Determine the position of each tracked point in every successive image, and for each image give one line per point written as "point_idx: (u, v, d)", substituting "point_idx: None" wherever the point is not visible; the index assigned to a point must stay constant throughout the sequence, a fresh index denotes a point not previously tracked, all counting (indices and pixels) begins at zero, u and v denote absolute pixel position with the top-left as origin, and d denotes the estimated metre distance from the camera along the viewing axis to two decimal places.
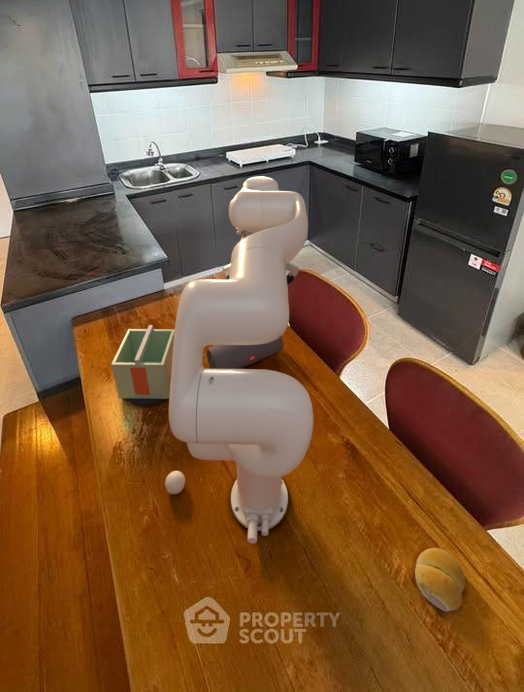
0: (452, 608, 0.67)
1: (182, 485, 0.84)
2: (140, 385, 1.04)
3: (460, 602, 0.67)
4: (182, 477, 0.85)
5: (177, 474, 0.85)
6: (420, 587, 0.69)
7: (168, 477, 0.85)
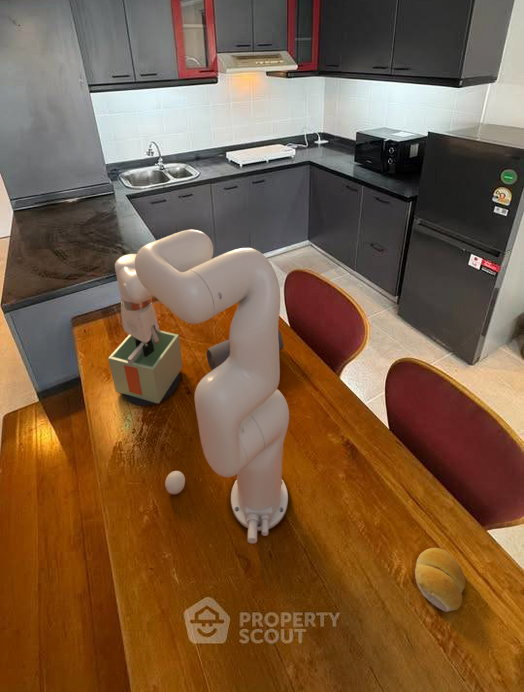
0: (452, 608, 0.67)
1: (182, 485, 0.84)
2: (133, 384, 1.04)
3: (460, 602, 0.67)
4: (182, 477, 0.85)
5: (177, 474, 0.85)
6: (420, 587, 0.69)
7: (168, 477, 0.85)
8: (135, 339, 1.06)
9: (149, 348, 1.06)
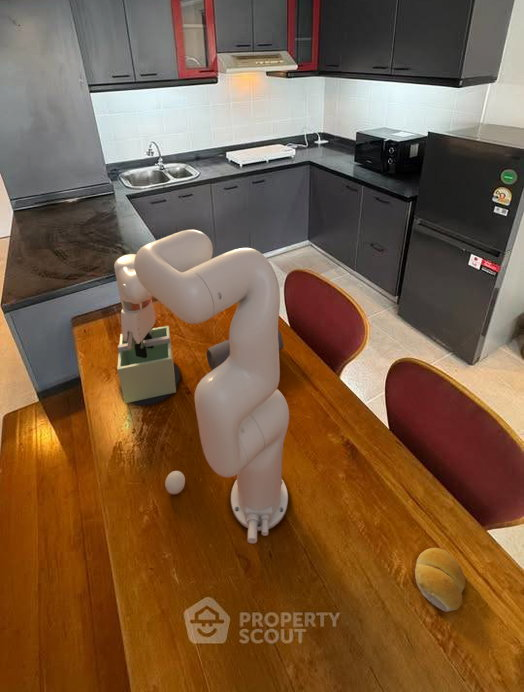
0: (452, 608, 0.67)
1: (182, 485, 0.84)
2: None
3: (460, 602, 0.67)
4: (182, 477, 0.85)
5: (177, 474, 0.85)
6: (420, 587, 0.69)
7: (168, 477, 0.85)
8: None
9: (137, 351, 1.05)
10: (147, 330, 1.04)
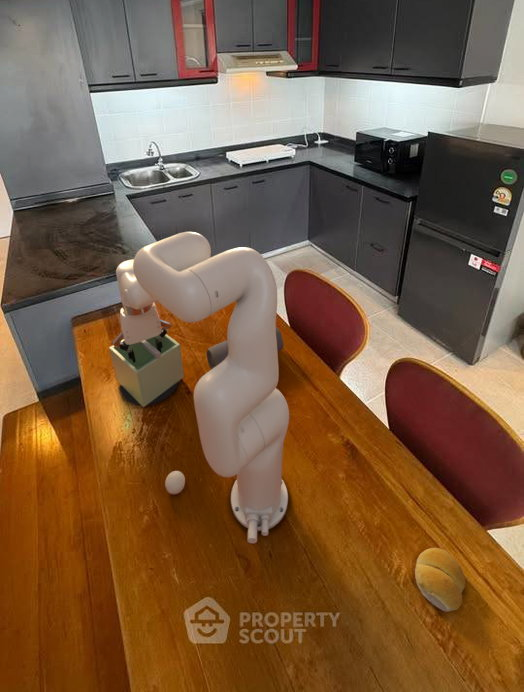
0: (452, 608, 0.67)
1: (182, 485, 0.84)
2: None
3: (460, 602, 0.67)
4: (182, 477, 0.85)
5: (177, 474, 0.85)
6: (420, 587, 0.69)
7: (168, 477, 0.85)
8: None
9: None
10: (142, 337, 1.03)
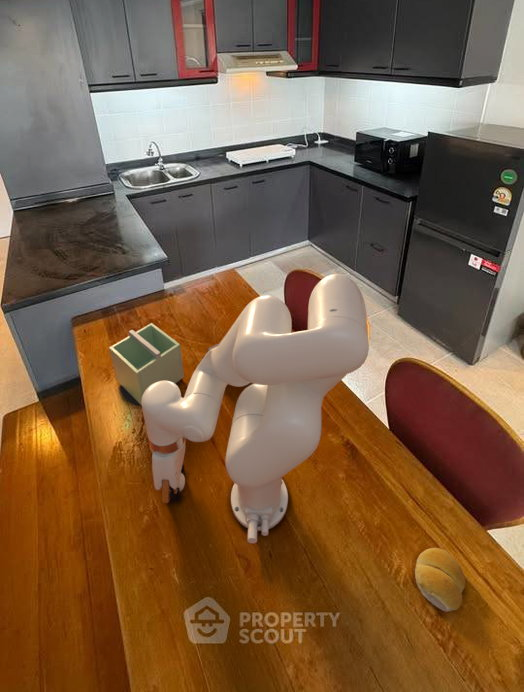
0: (452, 608, 0.67)
1: (182, 485, 0.84)
2: None
3: (460, 602, 0.67)
4: (182, 477, 0.85)
5: None
6: (420, 587, 0.69)
7: None
8: None
9: (169, 496, 0.82)
10: (181, 466, 0.82)
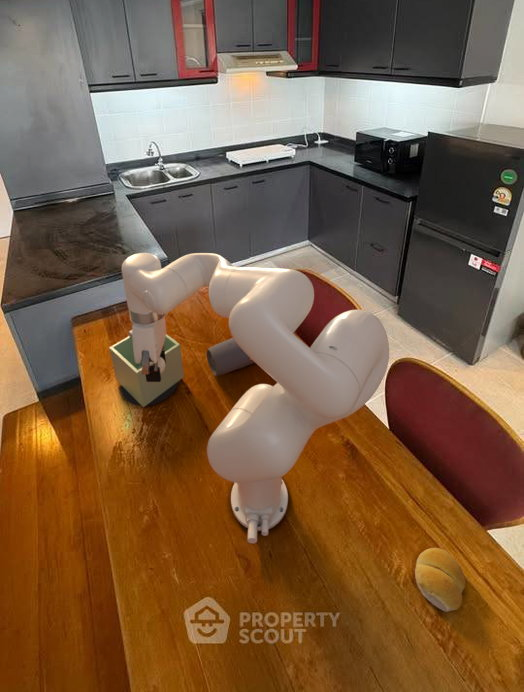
0: (452, 608, 0.67)
1: (162, 367, 0.86)
2: None
3: (460, 602, 0.67)
4: (162, 360, 0.87)
5: None
6: (420, 587, 0.69)
7: None
8: None
9: (150, 375, 0.84)
10: (162, 345, 0.84)
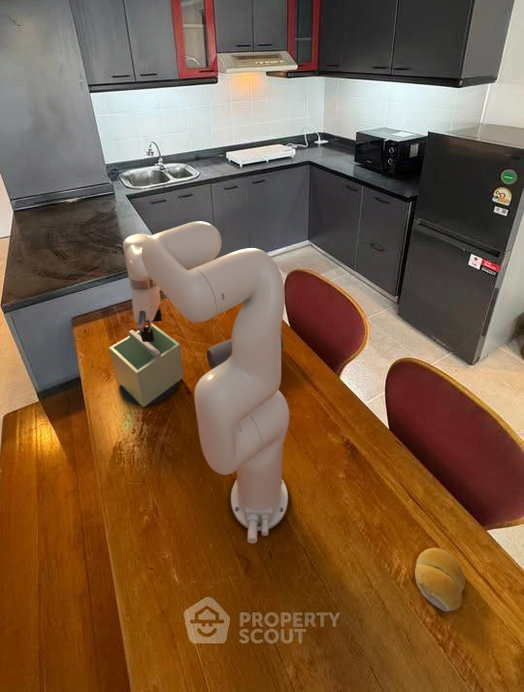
0: (452, 608, 0.67)
1: None
2: None
3: (460, 602, 0.67)
4: None
5: None
6: (420, 587, 0.69)
7: (152, 359, 1.14)
8: None
9: (144, 335, 1.03)
10: (156, 309, 1.05)
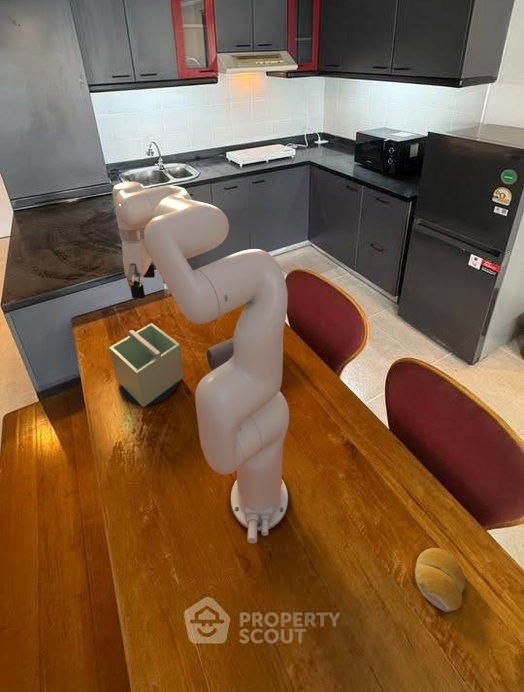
0: (452, 608, 0.67)
1: None
2: None
3: (460, 602, 0.67)
4: None
5: None
6: (420, 587, 0.69)
7: (152, 359, 1.14)
8: None
9: (134, 291, 0.97)
10: (148, 264, 1.00)
